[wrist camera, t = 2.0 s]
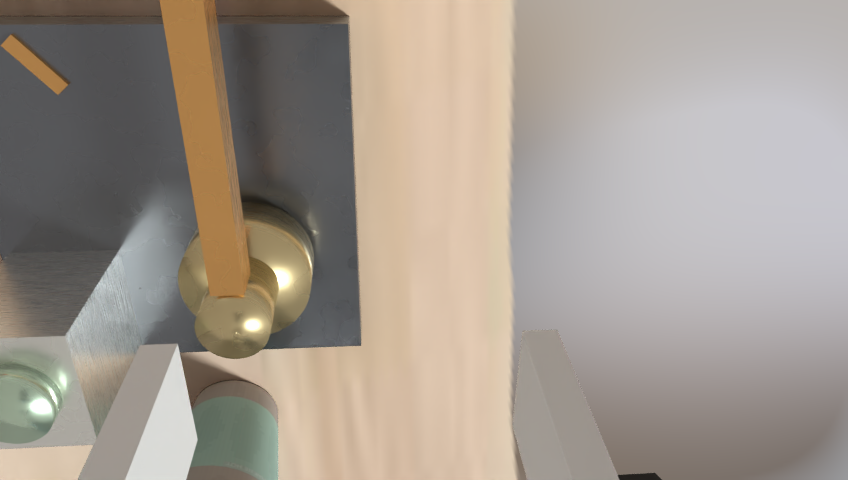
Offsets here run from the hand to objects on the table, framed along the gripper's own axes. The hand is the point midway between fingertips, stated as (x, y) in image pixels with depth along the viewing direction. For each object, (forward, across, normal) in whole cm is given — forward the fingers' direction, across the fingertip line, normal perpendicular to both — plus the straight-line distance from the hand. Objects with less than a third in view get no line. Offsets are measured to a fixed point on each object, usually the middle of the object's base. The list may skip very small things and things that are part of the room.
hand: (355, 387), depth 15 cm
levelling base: (+25, +10, +7) cm, 28 cm away
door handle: (+23, +6, +3) cm, 24 cm away
